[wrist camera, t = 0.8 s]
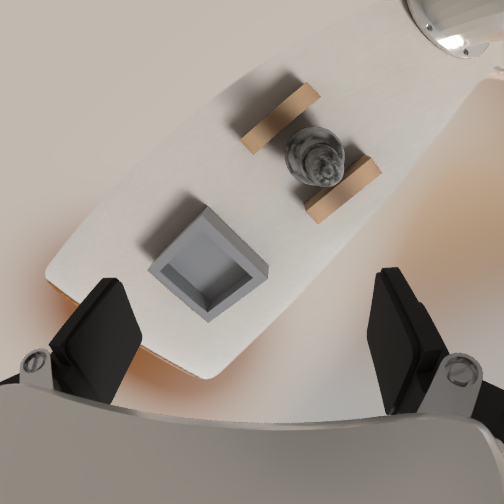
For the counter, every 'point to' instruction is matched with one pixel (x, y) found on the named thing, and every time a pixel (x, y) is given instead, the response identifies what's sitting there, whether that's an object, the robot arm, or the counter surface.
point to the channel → (328, 196)
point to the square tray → (209, 266)
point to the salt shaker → (315, 157)
